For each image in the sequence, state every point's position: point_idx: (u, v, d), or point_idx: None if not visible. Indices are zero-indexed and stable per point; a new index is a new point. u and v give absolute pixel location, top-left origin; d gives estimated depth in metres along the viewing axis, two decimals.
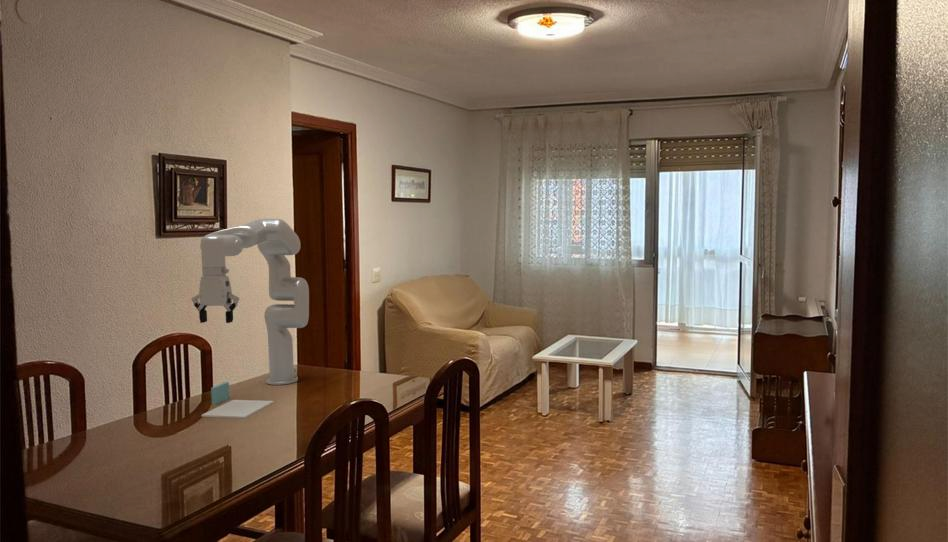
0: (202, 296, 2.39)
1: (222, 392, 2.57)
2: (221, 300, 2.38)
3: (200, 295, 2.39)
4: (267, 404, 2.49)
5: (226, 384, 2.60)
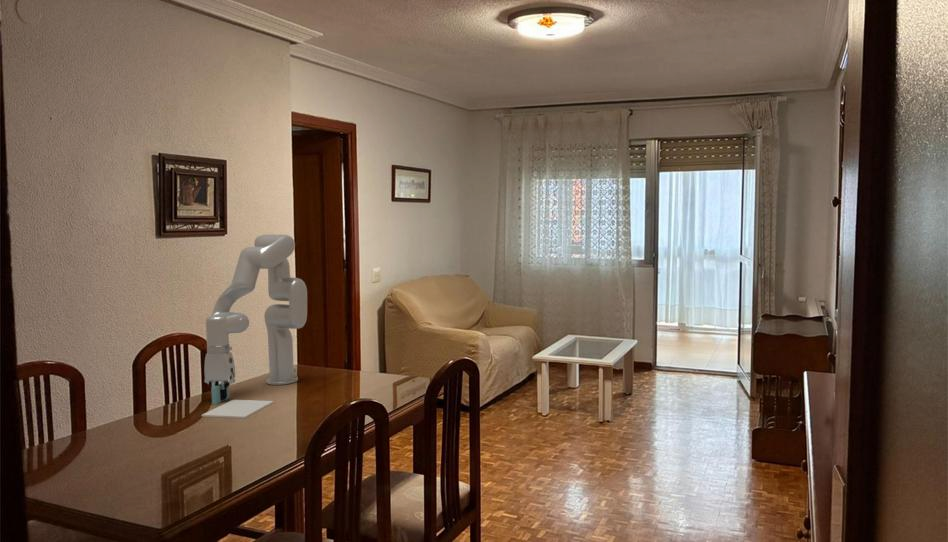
0: (207, 372, 2.55)
1: None
2: (225, 376, 2.54)
3: (205, 371, 2.55)
4: (267, 404, 2.49)
5: None
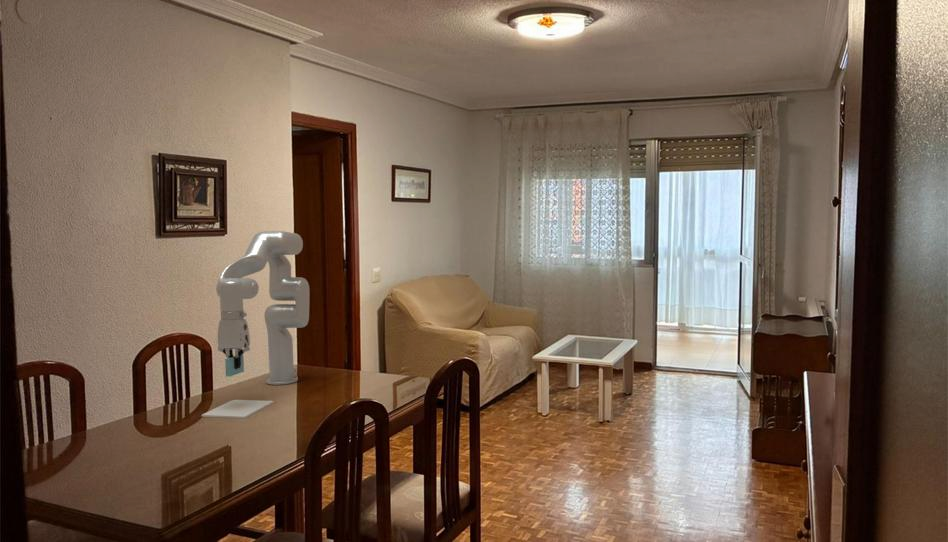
0: (220, 339, 2.44)
1: None
2: (239, 343, 2.43)
3: (219, 338, 2.44)
4: (267, 404, 2.49)
5: (241, 357, 2.49)
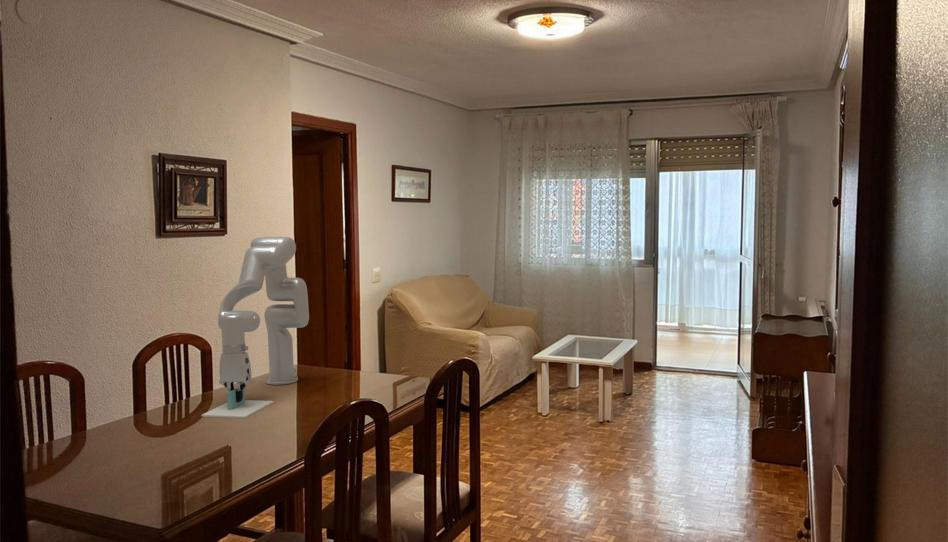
0: (222, 373, 2.45)
1: None
2: (241, 377, 2.44)
3: (220, 371, 2.45)
4: (267, 404, 2.49)
5: None
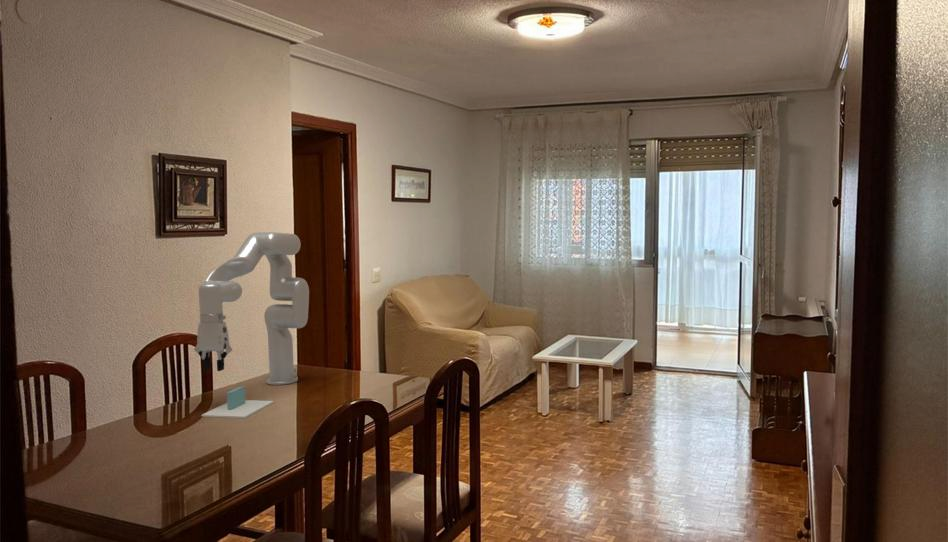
0: (200, 342, 2.46)
1: (238, 397, 2.47)
2: (218, 346, 2.45)
3: (198, 340, 2.46)
4: (267, 404, 2.49)
5: (242, 388, 2.49)
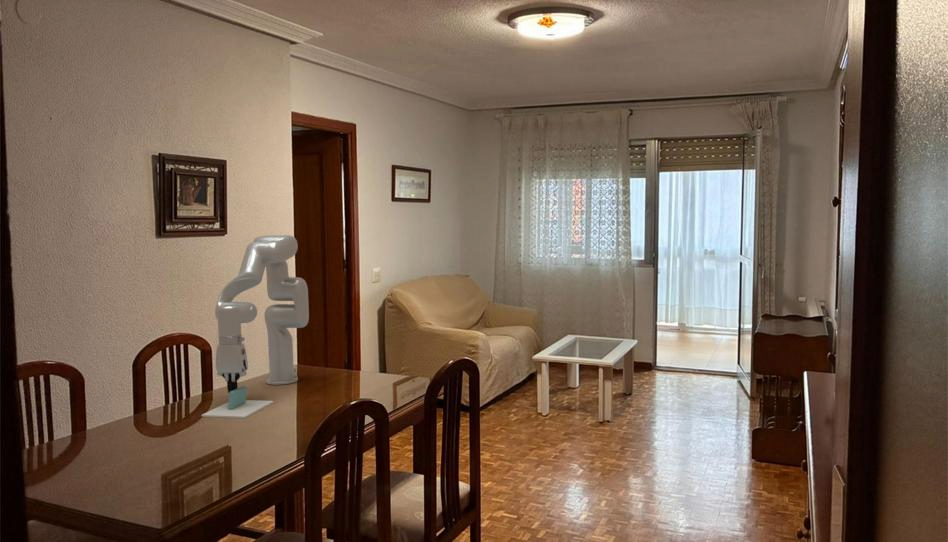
0: (218, 364, 2.45)
1: (239, 397, 2.47)
2: (237, 368, 2.44)
3: (217, 362, 2.45)
4: (267, 404, 2.49)
5: (244, 389, 2.49)
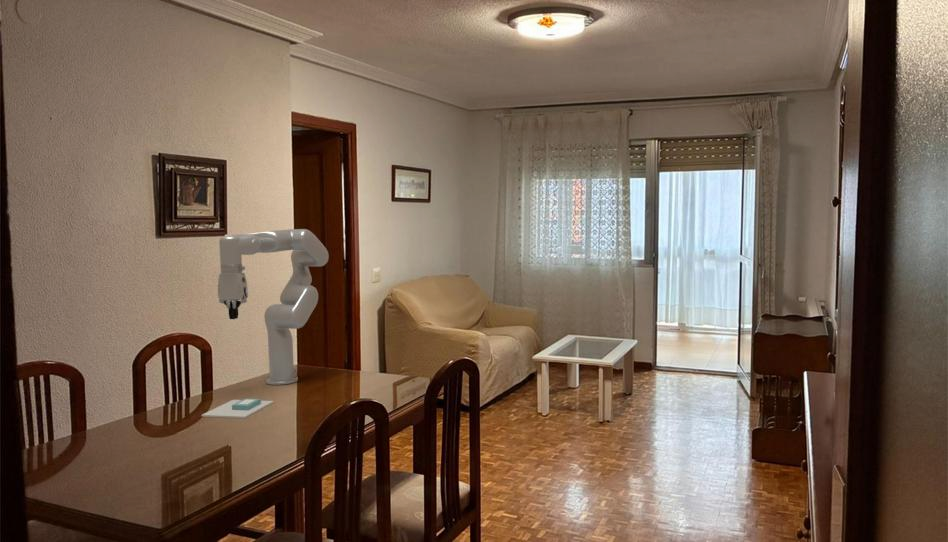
0: (220, 291, 2.60)
1: None
2: (238, 295, 2.59)
3: (219, 290, 2.61)
4: (267, 404, 2.49)
5: None
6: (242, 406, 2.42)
